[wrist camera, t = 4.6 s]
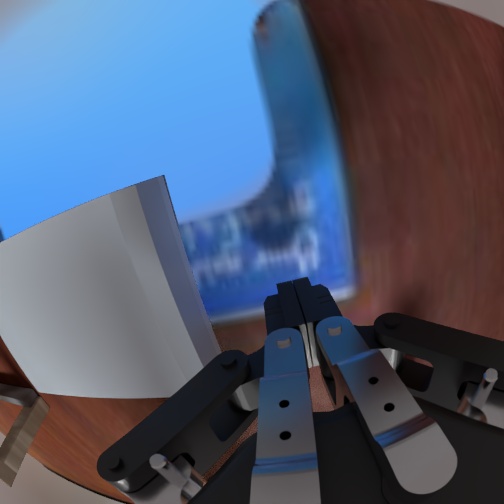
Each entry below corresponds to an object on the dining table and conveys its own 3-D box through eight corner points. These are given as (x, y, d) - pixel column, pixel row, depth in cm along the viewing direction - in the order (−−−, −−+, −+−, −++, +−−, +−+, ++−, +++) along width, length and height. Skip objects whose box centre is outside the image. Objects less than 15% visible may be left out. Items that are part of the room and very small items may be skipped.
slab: (164, 174, 13) (135, 184, 10) (233, 378, 18) (231, 423, 14) (-26, 257, 14) (-54, 275, 11) (43, 384, 19) (26, 410, 16)
